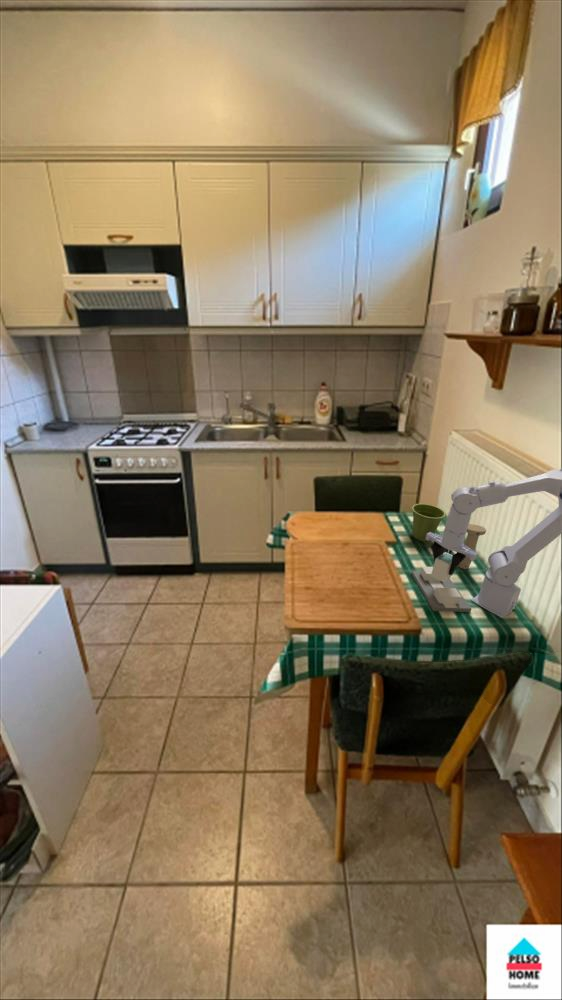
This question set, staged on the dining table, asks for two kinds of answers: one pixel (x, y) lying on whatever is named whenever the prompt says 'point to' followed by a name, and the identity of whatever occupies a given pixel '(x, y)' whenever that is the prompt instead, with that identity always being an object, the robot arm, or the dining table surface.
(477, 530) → the handle
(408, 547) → the dining table surface
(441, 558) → the module
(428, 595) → the board
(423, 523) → the plant pot
